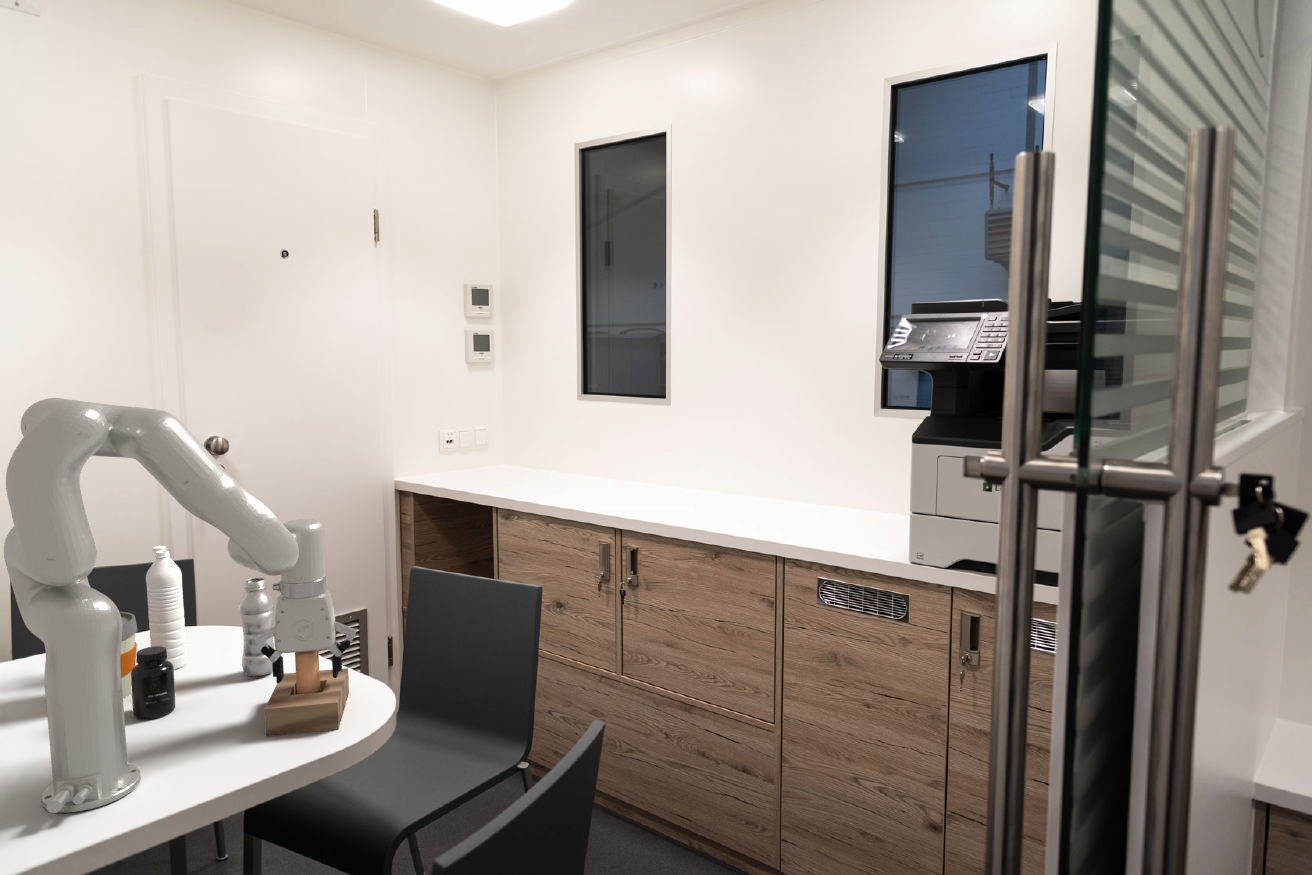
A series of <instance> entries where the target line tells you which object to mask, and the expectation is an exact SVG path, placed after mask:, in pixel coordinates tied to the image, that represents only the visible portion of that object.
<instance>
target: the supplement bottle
mask: <svg viewBox="0 0 1312 875" xmlns="http://www.w3.org/2000/svg"><path fill="white" fill-rule="evenodd" d="M166 659H167V649H166V647H162V646H154V647H151V646H150V647H144V648H141V649H139V650H138V651H136V663H135V667H134V668H133V670H132V671H131V703H132V715H133V717H134V718H135V719H138V720H141V721H142V720H143V721H145V720H154V719H159V718H163V717H167V716H168V715H169V714H172V713H173V712H174V710H175V709H176V690H175V689H176V687H175V684H176V683H175V670H174V666H173V664H172V663H171V662H170V661H168V660H166Z"/></svg>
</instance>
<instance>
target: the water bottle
mask: <svg viewBox="0 0 1312 875" xmlns="http://www.w3.org/2000/svg"><path fill="white" fill-rule="evenodd" d="M152 553H155V556H154V557H155V560H154V561H153V562H152V564H151V566H149V569H148V570H147V572H146V574H145V584H146V595H147V608H148V609H147V610H148V616H147V617H148V621H149V622H148V623H149V624H148V627H149V638H150V642H149V645H150V647H154V646H162V647H166V649H167V659H166V660H168V661H170V662H171V663H172V664H173V666H174V671H175V670H176V669H177V670H178V669H180V668H183V667H184V666H186V665H187V664H188V653H187V642H186V638H187V635H186V626H185V625H186V624H185V623H186V622H185V607H184V598H183V597H184V594H183V577H182V576H183V574H182V571H181V568H180V567H179V566H178V565H177V563H175V562H174V561H173V559H172V558H171V557H170V556H171V554H170V550H167V546H166V545H157V546H153V547H152Z"/></svg>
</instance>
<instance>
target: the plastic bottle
mask: <svg viewBox="0 0 1312 875" xmlns="http://www.w3.org/2000/svg"><path fill="white" fill-rule="evenodd" d="M244 586H245V587H244V591H245V592H246V593H245V594H244V596H243V597H242V598H241V600H240V601H239V604H238V613H239V617H240V622H241V627H242V633H243V635H242V637H243V654H242V658H241V667H242V671H243V673H244V674H245V675H246V676H249V677H262V676H265V675H269V674H270V673H273V668H272V662H271V661H270V659H269V658H268V657H266V656H265V655H264V654H262V653H261V650H260V649H259V647H258V646H257V644H256V643H255V639H256V637H257V636H259V635H260V634H262V633H264V632H266V631H268V630H270V629H271V628H273V615H274V600H273V598H272V597H271V596H270V594H269V593H267V592H266V590H265V589H266V587H267V586H266V579H265V578H263V577H253V578H248V579H246V580H245V582H244ZM273 637H274V636H273ZM273 637H271V638H269V639H267V640H266V642H267V644H268V645H269V646H270V647H272V648H273V649H274V650H275V642H274V639H273Z"/></svg>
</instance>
